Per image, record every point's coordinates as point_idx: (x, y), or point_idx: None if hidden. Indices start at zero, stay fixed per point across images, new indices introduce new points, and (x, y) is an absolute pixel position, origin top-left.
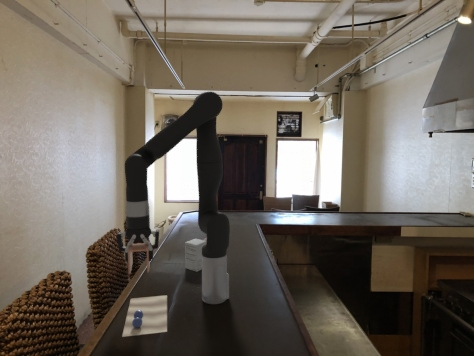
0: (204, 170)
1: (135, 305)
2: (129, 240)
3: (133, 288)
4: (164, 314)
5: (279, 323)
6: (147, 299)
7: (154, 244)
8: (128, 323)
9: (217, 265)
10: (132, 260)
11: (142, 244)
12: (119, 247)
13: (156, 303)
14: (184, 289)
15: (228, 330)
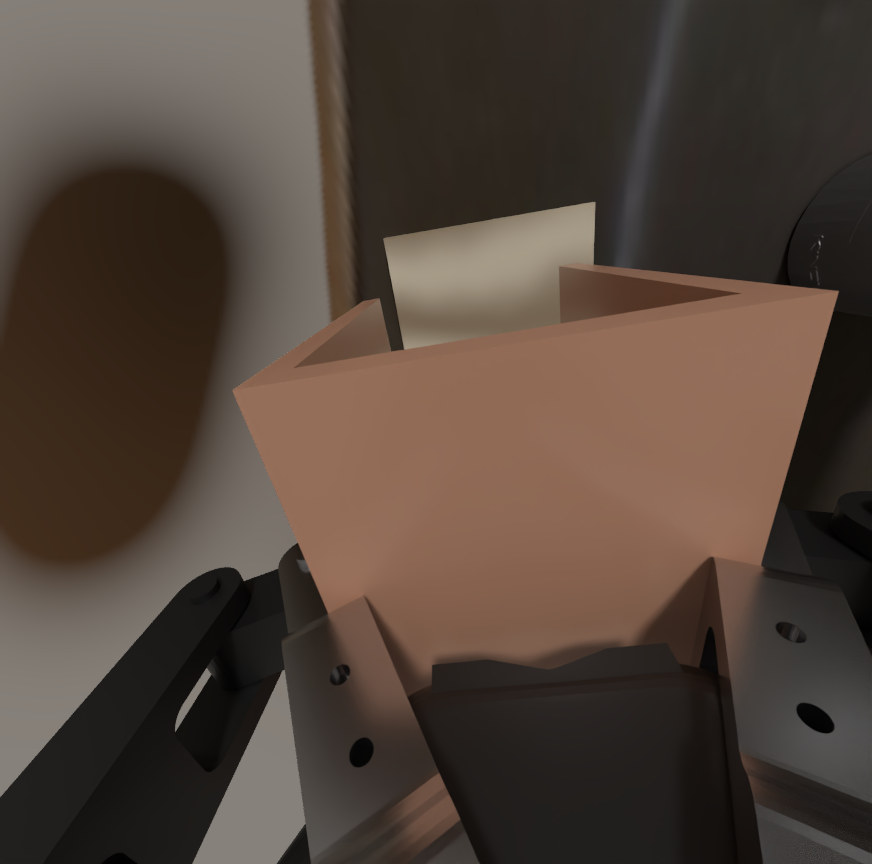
0: None
1: (431, 325)
2: (302, 715)
3: (341, 13)
4: None
5: None
6: (482, 257)
7: (859, 580)
8: None
9: None
10: (379, 333)
11: (608, 626)
12: (218, 716)
13: (536, 308)
14: (717, 62)
15: (795, 500)
